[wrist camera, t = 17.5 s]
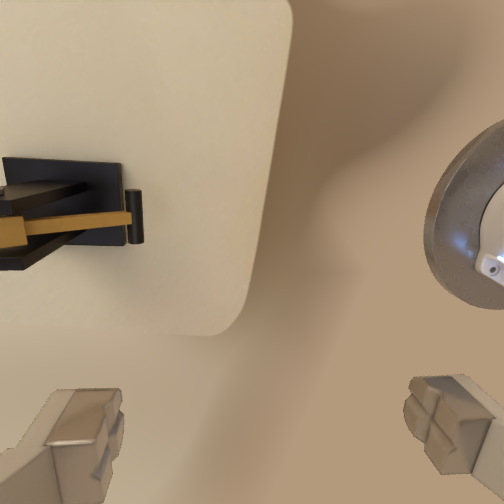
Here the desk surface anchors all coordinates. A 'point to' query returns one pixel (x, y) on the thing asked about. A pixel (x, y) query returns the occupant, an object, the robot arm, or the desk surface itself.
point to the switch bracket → (59, 203)
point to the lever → (75, 223)
